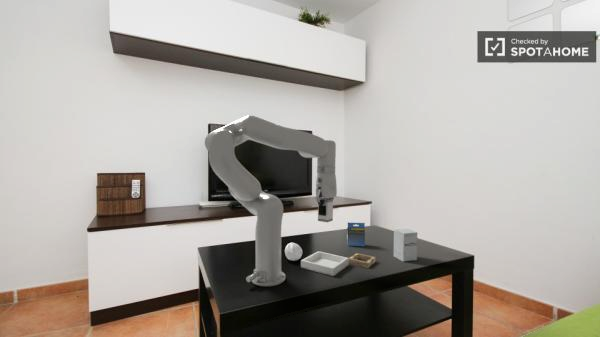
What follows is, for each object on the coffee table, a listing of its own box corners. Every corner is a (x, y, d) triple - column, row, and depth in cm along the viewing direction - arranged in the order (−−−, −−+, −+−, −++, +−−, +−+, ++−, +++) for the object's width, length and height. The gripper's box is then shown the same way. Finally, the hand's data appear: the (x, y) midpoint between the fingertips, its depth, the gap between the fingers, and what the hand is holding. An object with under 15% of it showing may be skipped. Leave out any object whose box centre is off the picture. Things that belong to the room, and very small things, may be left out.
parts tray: (333, 276, 104) (333, 268, 104) (300, 267, 112) (300, 260, 112) (348, 264, 115) (348, 257, 115) (318, 257, 124) (318, 251, 124)
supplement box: (403, 262, 119) (403, 233, 118) (393, 256, 126) (393, 229, 125) (417, 260, 121) (417, 232, 120) (406, 254, 128) (407, 228, 127)
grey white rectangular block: (327, 222, 110) (327, 200, 110) (317, 220, 113) (318, 199, 112) (332, 220, 114) (333, 199, 113) (323, 219, 116) (323, 198, 116)
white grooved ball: (295, 264, 115) (295, 246, 115) (281, 261, 119) (281, 243, 119) (305, 259, 122) (305, 241, 122) (291, 255, 126) (291, 239, 126)
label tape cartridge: (363, 244, 144) (364, 221, 143) (364, 246, 140) (365, 222, 139) (346, 243, 145) (347, 220, 144) (347, 246, 141) (347, 222, 140)
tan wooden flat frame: (368, 268, 112) (368, 263, 112) (348, 263, 117) (348, 258, 117) (375, 261, 119) (375, 256, 119) (356, 257, 124) (356, 252, 124)
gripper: (323, 171, 104) (322, 218, 104) (343, 170, 117) (342, 212, 118) (307, 170, 108) (306, 216, 108) (328, 169, 122) (327, 210, 122)
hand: (325, 213), depth 113 cm, fingers closed on grey white rectangular block, 4 cm apart
